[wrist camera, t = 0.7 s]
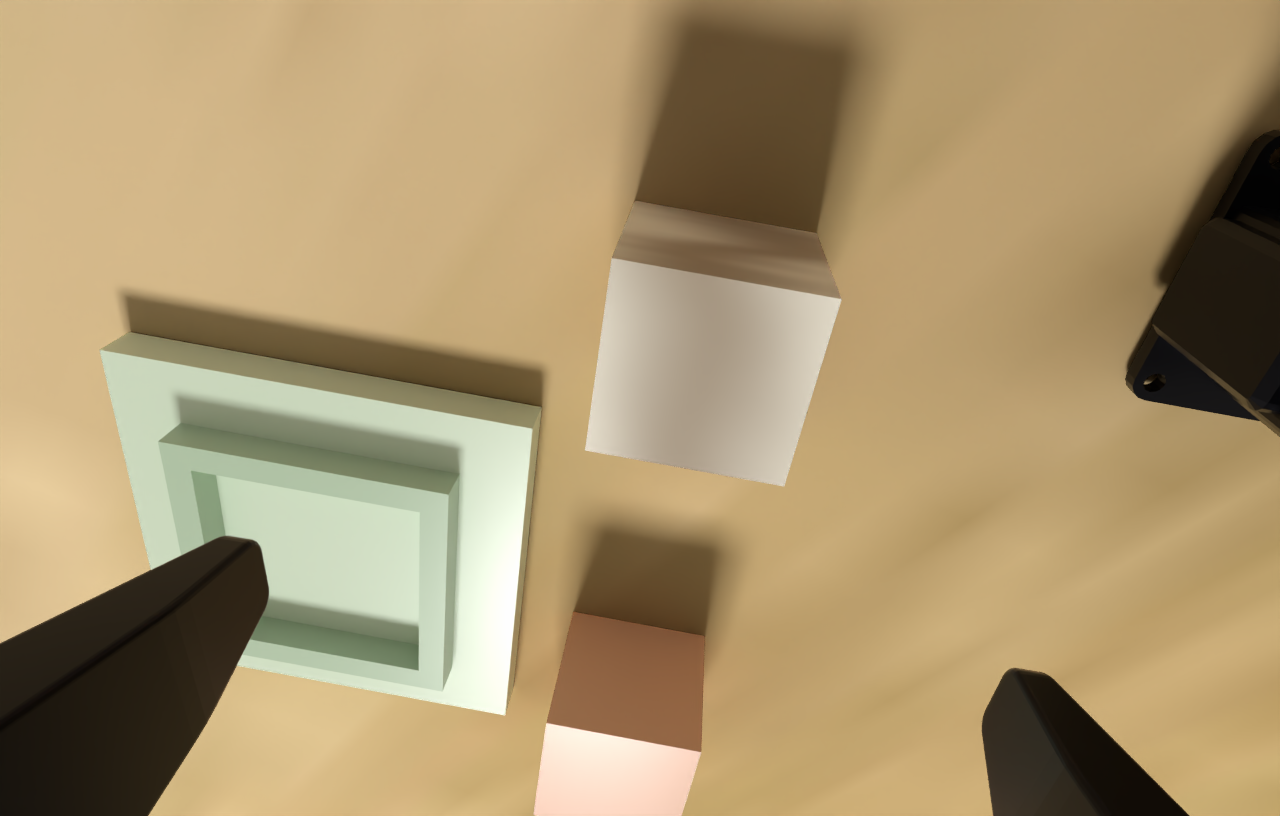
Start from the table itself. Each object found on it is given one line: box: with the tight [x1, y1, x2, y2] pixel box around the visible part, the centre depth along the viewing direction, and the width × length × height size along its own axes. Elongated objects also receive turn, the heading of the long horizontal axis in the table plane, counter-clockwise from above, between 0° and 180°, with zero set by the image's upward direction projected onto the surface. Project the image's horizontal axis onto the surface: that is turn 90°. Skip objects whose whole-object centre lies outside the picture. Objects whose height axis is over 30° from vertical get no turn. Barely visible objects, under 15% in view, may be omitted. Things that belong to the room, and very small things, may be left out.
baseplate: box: [100, 332, 542, 715], centre depth 24 cm, size 12×12×2 cm
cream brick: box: [585, 201, 842, 486], centre depth 18 cm, size 4×4×4 cm
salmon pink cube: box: [534, 612, 705, 816], centre depth 25 cm, size 4×4×4 cm
